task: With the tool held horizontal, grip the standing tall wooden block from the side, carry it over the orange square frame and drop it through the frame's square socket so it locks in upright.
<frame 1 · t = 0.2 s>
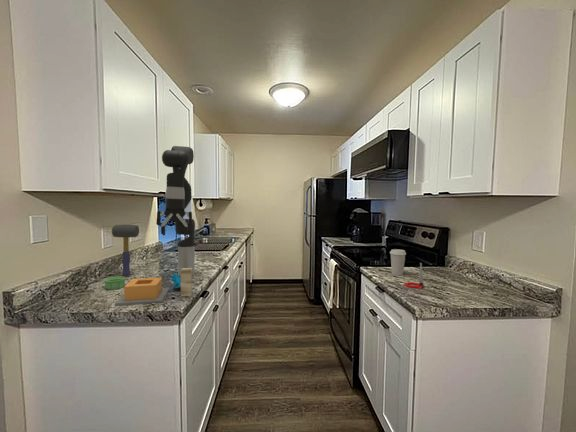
hand: (174, 235, 120), 29 cm above the table, tool pointing down, fingers open, 8 cm apart
rubber mallet: (126, 276, 159), on the table
gear: (180, 289, 138), on the table
tall wooden block: (186, 294, 129), on the table
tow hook: (413, 286, 148), on the table
coffee cup: (397, 274, 173), on the table
orange square frame: (144, 297, 125), on the table
ramekin: (115, 287, 139), on the table
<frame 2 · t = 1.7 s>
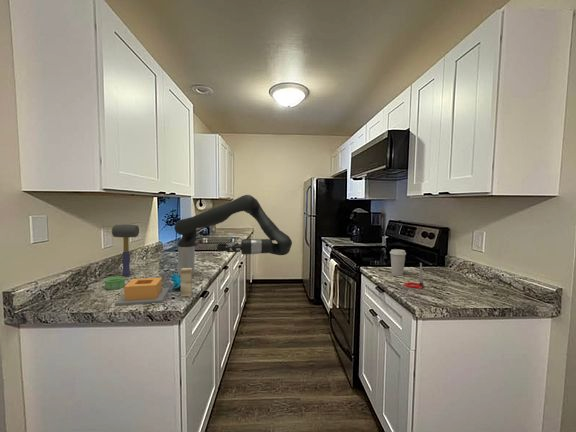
hand: (217, 247, 132), 22 cm above the table, tool horizontal, fingers open, 8 cm apart
nothing on the table moved.
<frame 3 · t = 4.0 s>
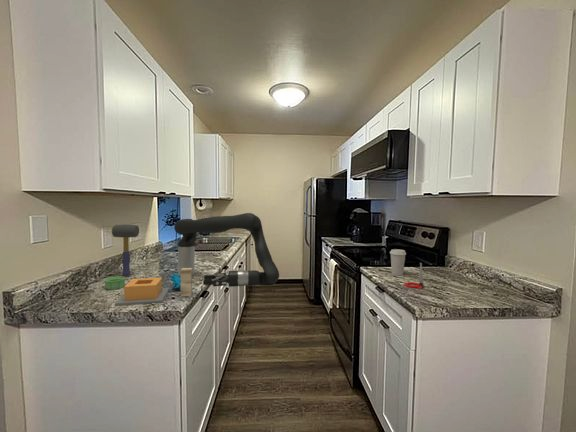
hand: (203, 279, 131), 6 cm above the table, tool horizontal, fingers open, 8 cm apart
nothing on the table moved.
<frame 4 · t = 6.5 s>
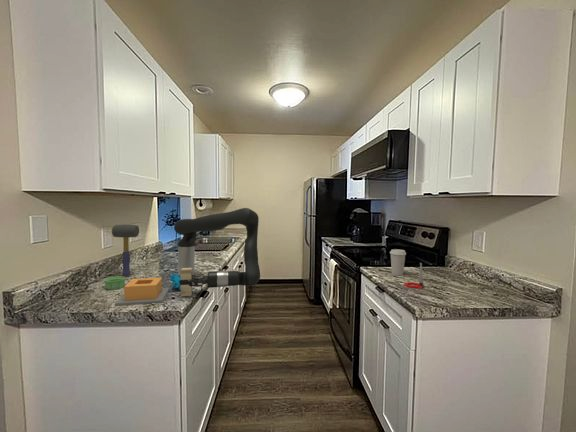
hand: (180, 281, 128), 7 cm above the table, tool horizontal, fingers closed on tall wooden block, 4 cm apart
tall wooden block: (186, 294, 129), on the table, touching gripper
everything else where it was.
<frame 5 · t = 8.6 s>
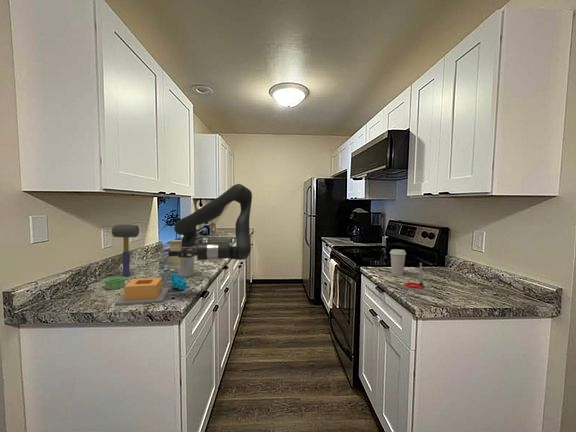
hand: (169, 252, 127), 20 cm above the table, tool horizontal, fingers closed on tall wooden block, 4 cm apart
tall wooden block: (175, 266, 128), point 13 cm above the table, touching gripper
everything else where it was.
when the fingers open (15 cm above the table, at t = 11.2 s): tall wooden block drops 7 cm, resting on orange square frame.
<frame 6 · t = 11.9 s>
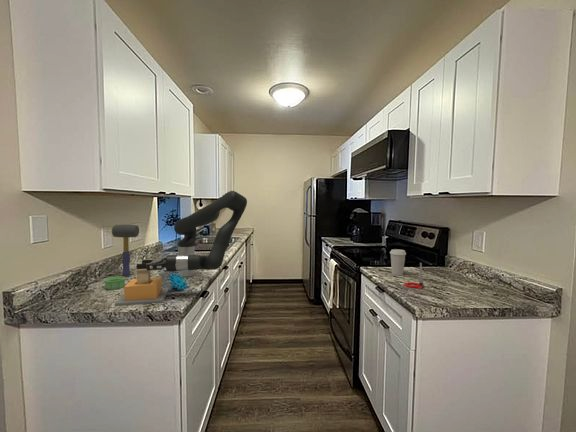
hand: (139, 264, 124), 15 cm above the table, tool horizontal, fingers open, 8 cm apart
tall wooden block: (144, 294, 125), point 1 cm above the table, touching orange square frame
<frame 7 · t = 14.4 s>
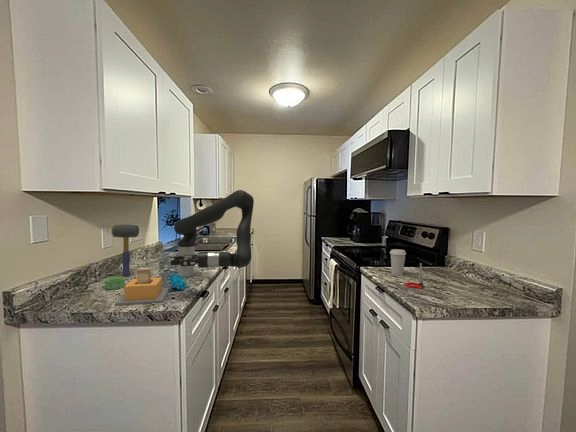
hand: (172, 260, 128), 16 cm above the table, tool horizontal, fingers open, 8 cm apart
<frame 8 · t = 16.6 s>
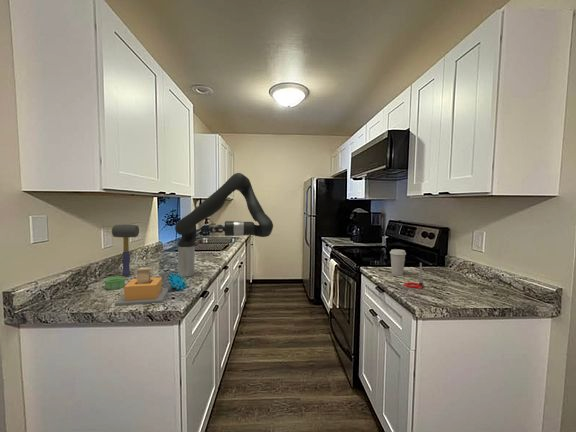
hand: (201, 228, 138), 30 cm above the table, tool horizontal, fingers open, 8 cm apart
at the end: tall wooden block 0.2 cm off-centre on the orange square frame, point 1.0 cm above the orange square frame's base; tall wooden block tilted 0°; the gripper is holding nothing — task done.
